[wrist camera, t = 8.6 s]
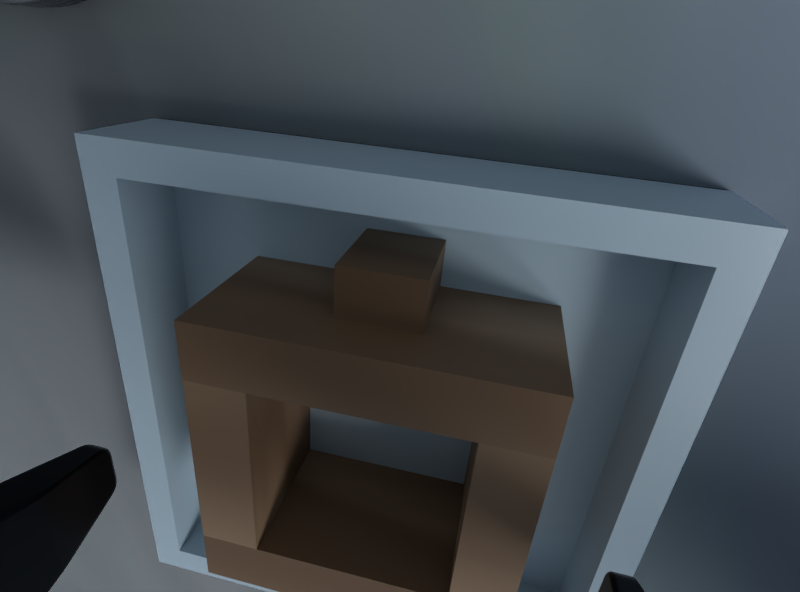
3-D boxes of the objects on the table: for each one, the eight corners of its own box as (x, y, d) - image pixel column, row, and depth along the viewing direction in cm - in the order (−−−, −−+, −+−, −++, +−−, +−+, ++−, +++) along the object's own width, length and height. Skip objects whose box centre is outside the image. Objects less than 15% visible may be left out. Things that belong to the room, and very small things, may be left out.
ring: (504, 529, 13) (499, 652, 10) (268, 473, 14) (208, 572, 11) (572, 259, 10) (590, 338, 7) (255, 211, 11) (165, 264, 8)
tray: (731, 191, 9) (788, 229, 7) (578, 594, 14) (586, 680, 12) (154, 117, 11) (73, 132, 9) (203, 499, 16) (159, 561, 14)
